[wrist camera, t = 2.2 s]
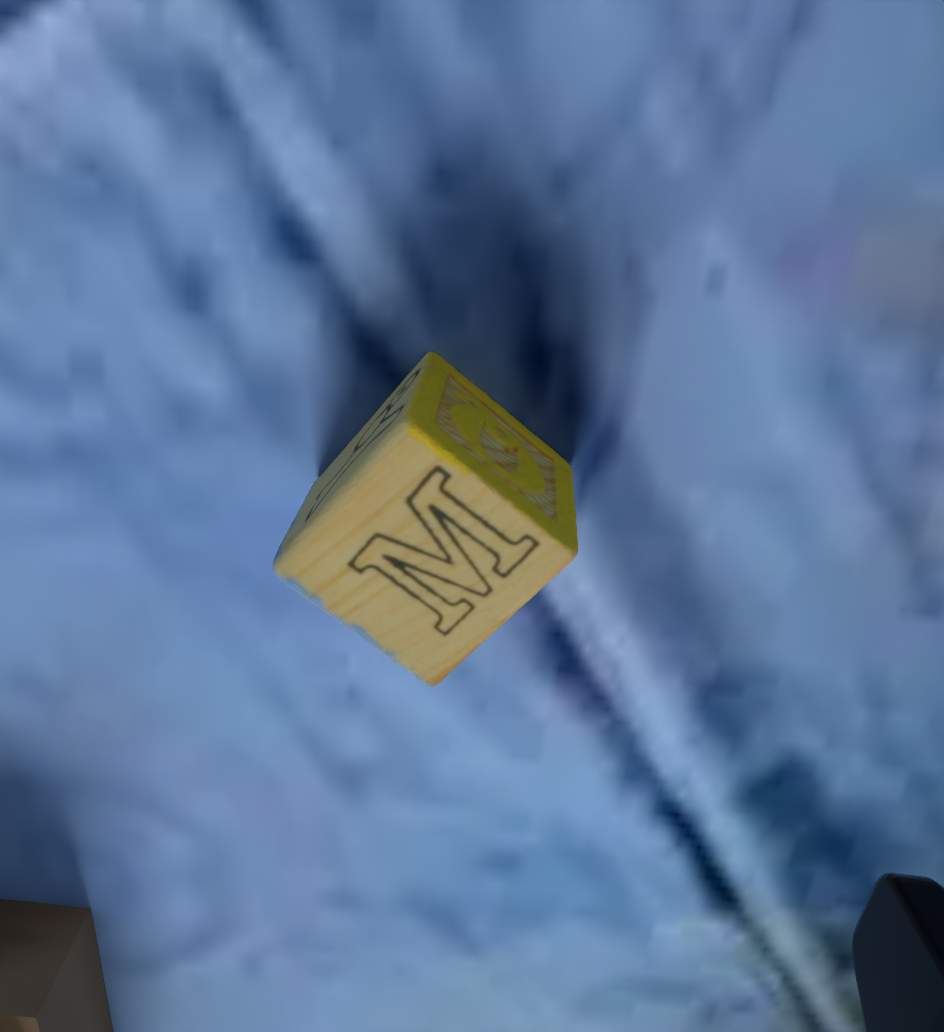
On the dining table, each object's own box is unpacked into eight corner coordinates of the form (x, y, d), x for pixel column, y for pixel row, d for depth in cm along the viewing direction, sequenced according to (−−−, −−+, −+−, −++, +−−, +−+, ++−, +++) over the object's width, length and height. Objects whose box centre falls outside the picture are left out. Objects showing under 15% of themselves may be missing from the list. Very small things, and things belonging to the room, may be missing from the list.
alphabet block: (310, 477, 15) (262, 577, 12) (428, 339, 13) (404, 417, 11) (452, 582, 16) (436, 697, 13) (576, 462, 14) (586, 562, 12)
